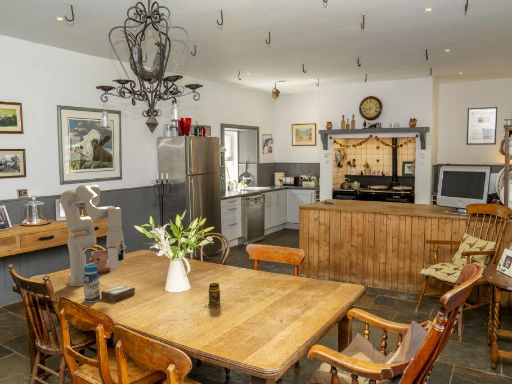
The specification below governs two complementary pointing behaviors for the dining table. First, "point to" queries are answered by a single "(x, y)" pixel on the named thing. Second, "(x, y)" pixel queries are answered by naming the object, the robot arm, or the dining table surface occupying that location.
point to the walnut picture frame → (117, 293)
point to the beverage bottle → (91, 283)
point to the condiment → (214, 295)
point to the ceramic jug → (100, 260)
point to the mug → (114, 258)
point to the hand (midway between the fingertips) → (116, 259)
